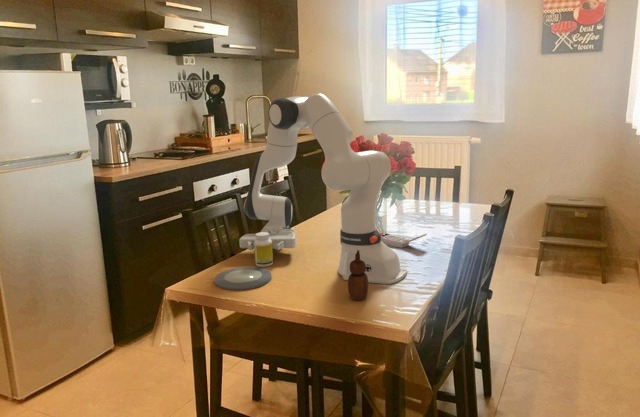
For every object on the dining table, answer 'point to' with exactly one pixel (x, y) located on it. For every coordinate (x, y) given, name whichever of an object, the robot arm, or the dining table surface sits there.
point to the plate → (243, 278)
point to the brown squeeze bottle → (358, 279)
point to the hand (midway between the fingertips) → (263, 247)
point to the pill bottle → (263, 250)
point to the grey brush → (397, 240)
